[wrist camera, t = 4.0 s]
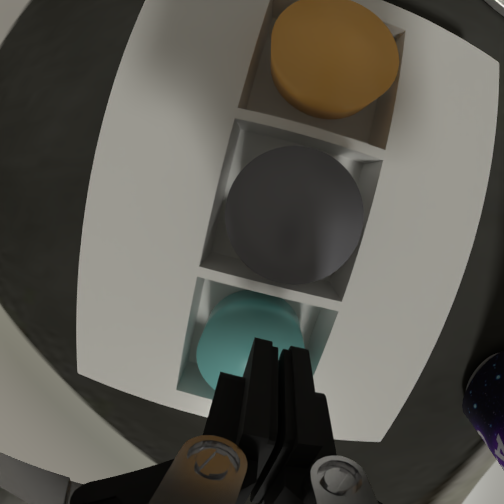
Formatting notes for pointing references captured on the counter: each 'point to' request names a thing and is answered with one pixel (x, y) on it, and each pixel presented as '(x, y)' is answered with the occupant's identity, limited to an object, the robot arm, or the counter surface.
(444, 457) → the counter surface
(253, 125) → the panel
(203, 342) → the teal button
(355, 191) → the charcoal button
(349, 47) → the orange button
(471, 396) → the beverage can
